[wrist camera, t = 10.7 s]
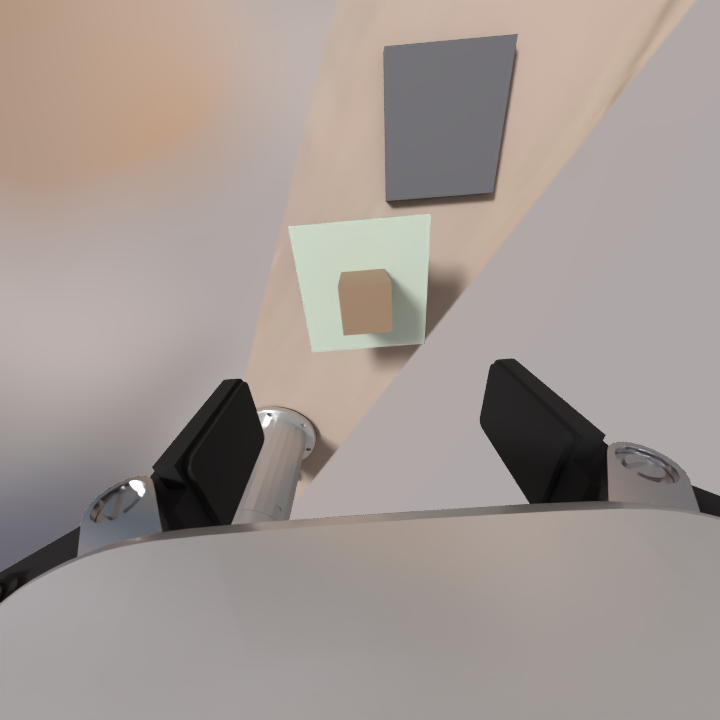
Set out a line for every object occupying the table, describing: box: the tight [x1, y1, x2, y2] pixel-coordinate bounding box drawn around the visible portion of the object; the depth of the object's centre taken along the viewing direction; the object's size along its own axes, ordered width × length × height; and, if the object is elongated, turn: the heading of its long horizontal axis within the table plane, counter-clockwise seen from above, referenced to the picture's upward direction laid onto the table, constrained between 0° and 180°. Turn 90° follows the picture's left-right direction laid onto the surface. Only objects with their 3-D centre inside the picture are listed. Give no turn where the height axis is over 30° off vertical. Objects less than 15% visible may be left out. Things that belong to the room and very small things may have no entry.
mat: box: [383, 34, 518, 201], centre depth 24 cm, size 11×11×1 cm
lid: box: [288, 214, 431, 352], centre depth 21 cm, size 11×11×6 cm
